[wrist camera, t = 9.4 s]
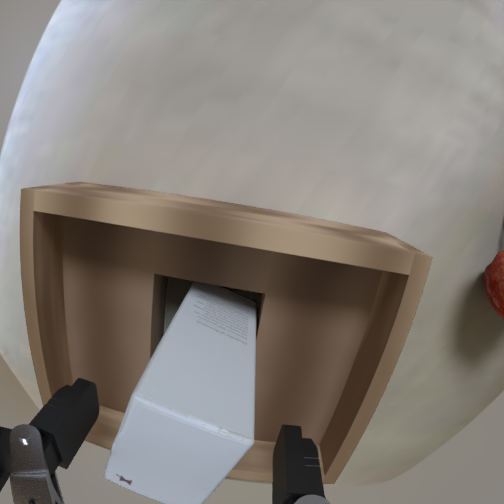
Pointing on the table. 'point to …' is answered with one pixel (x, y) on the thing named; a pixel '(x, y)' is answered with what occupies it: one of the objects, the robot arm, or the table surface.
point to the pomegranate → (496, 283)
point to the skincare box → (191, 402)
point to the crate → (227, 275)
